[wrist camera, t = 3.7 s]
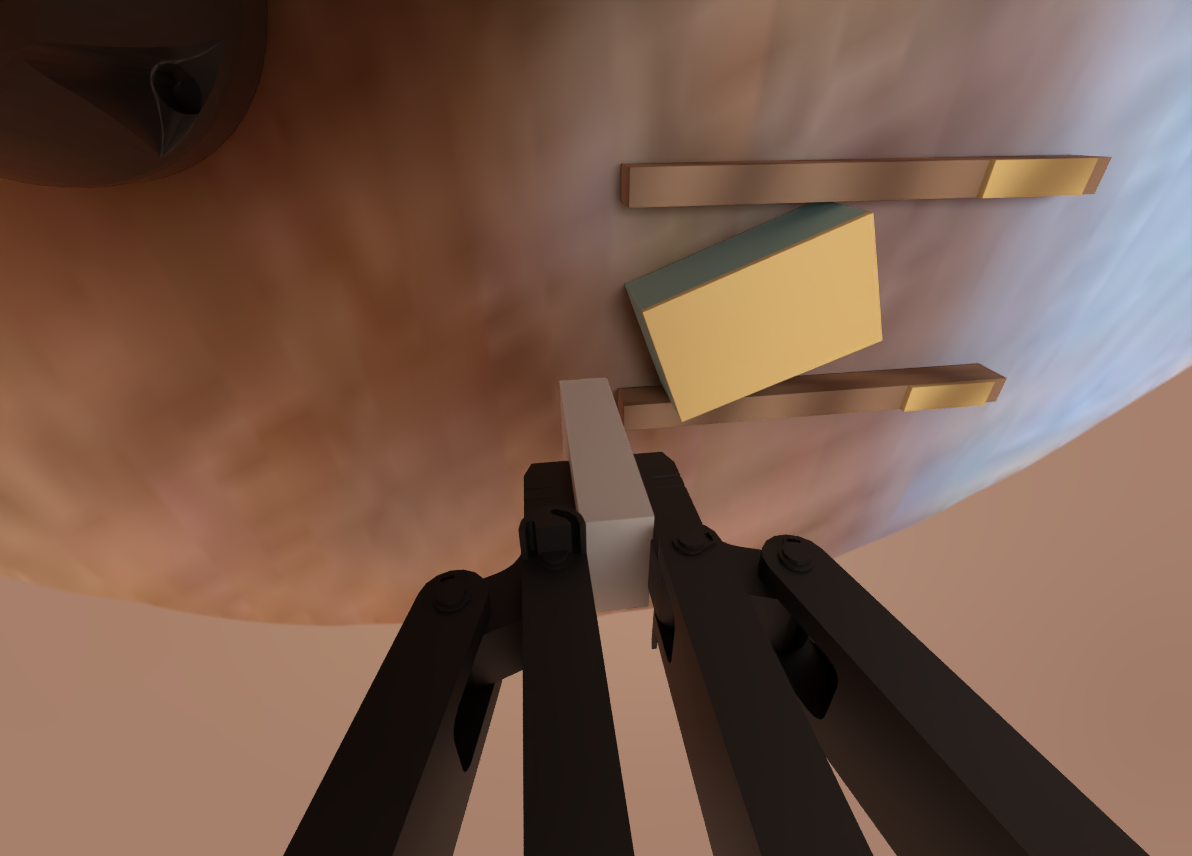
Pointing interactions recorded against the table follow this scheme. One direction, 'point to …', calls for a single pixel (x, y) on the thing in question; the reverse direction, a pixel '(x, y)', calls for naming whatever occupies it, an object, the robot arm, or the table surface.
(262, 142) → the table surface
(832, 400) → the beam slot
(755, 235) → the block
